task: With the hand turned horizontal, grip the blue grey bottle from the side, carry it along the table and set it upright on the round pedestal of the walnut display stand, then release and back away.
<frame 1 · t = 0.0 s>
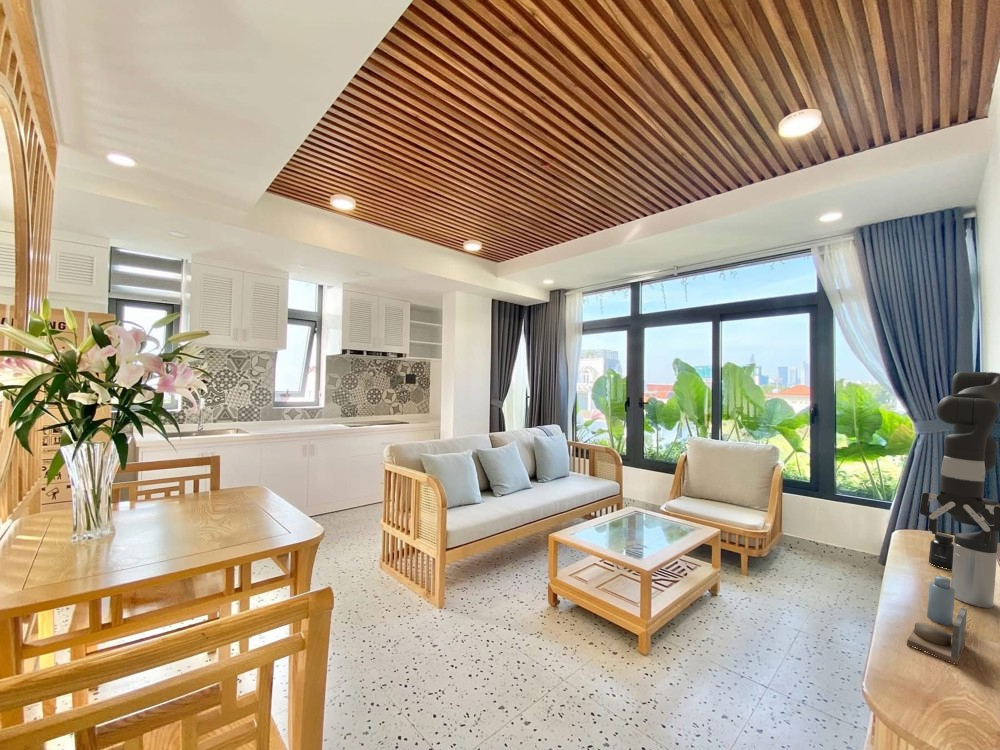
hand: (957, 539, 109), 29 cm above the table, tool pointing down, fingers open, 8 cm apart
display stand: (936, 645, 112), on the table
blue grey bottle: (939, 620, 124), on the table
supplement bottle: (941, 566, 162), on the table
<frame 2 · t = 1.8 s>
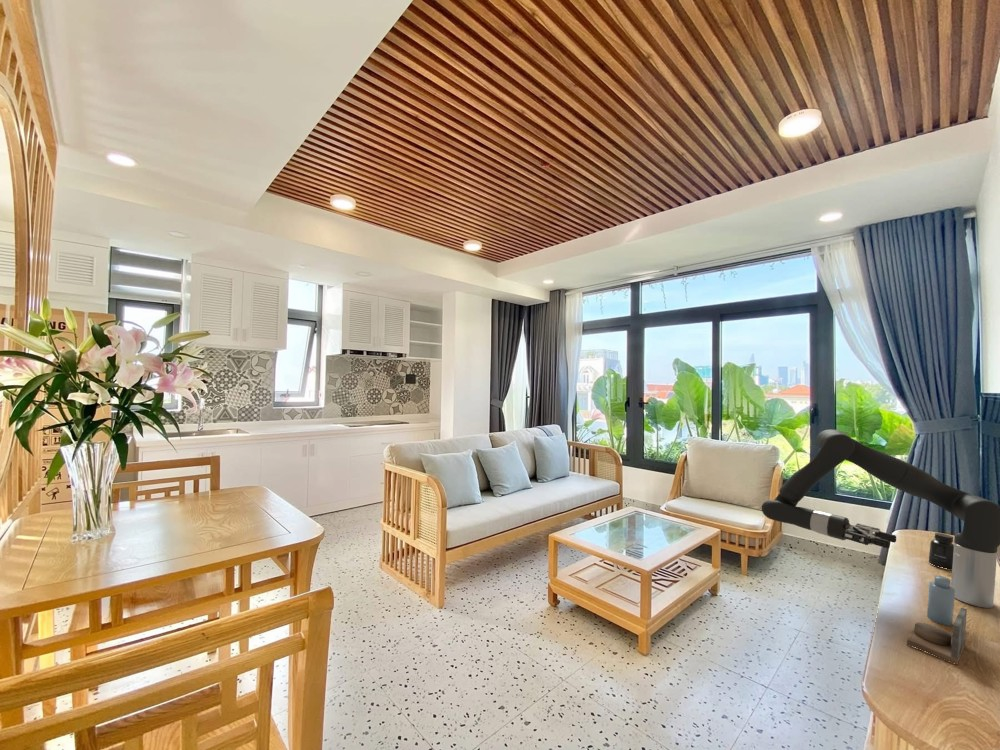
hand: (892, 542, 133), 19 cm above the table, tool horizontal, fingers open, 8 cm apart
nothing on the table moved.
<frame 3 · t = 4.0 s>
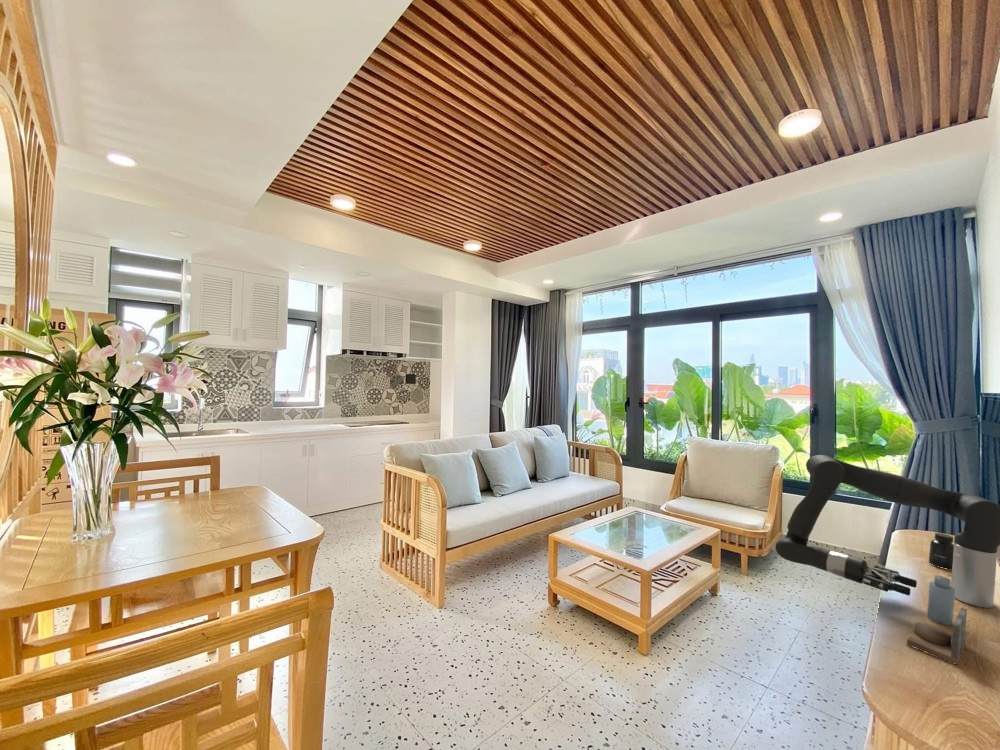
hand: (913, 588, 129), 7 cm above the table, tool horizontal, fingers open, 8 cm apart
nothing on the table moved.
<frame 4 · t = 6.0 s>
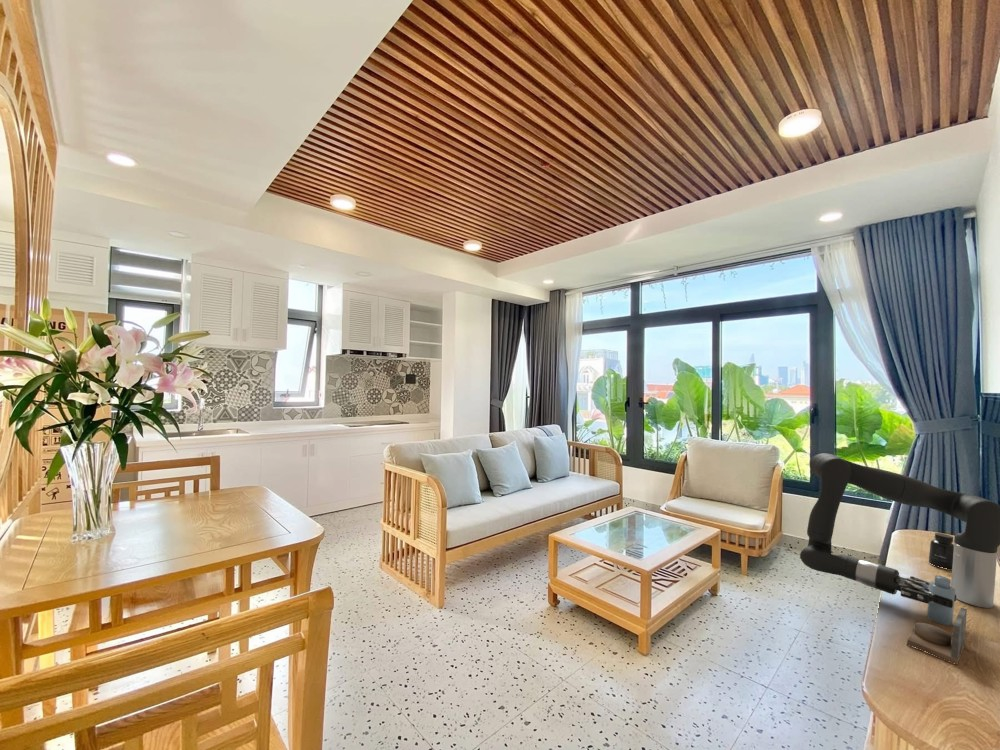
hand: (954, 601, 122), 7 cm above the table, tool horizontal, fingers closed on blue grey bottle, 5 cm apart
blue grey bottle: (939, 620, 124), on the table, touching gripper
everything else where it was.
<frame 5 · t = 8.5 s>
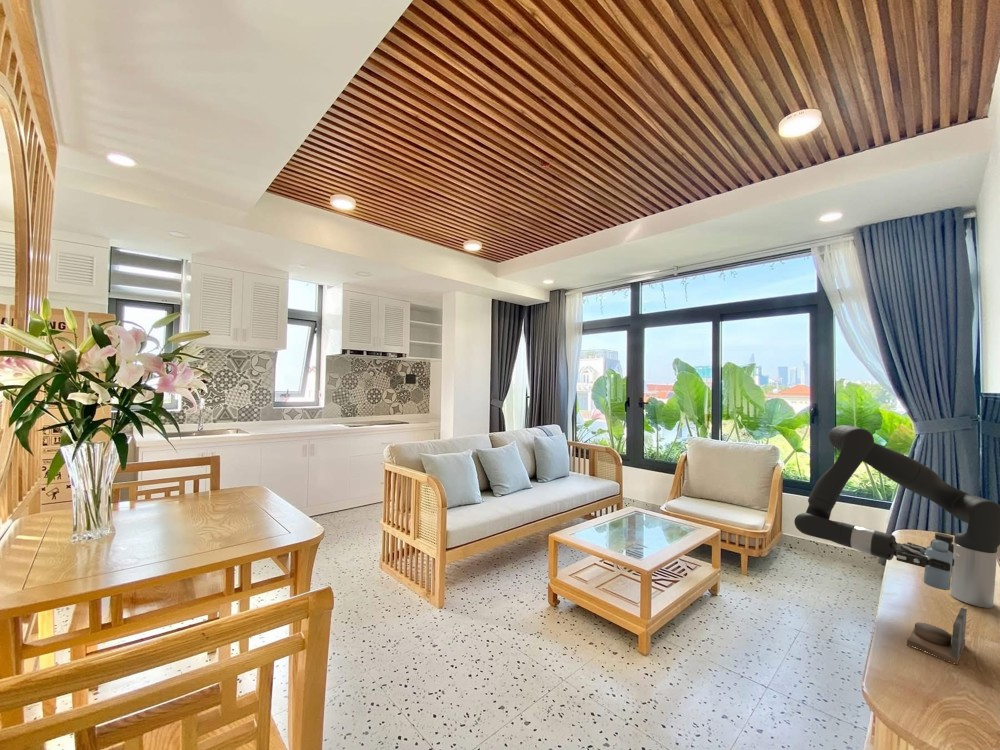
hand: (951, 565, 118), 19 cm above the table, tool horizontal, fingers closed on blue grey bottle, 5 cm apart
blue grey bottle: (936, 585, 120), point 12 cm above the table, touching gripper
everything else where it was.
when the fingers open (12 cm above the table, at t = 11.0 s): blue grey bottle drops 1 cm, resting on display stand.
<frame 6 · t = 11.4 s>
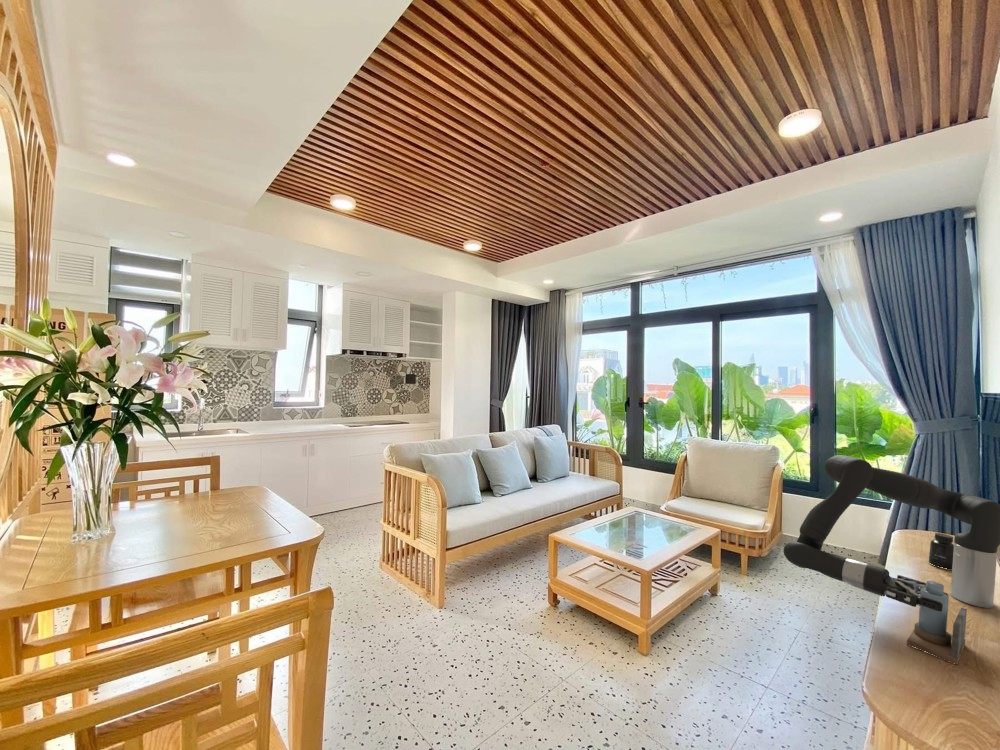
hand: (945, 602, 111), 12 cm above the table, tool horizontal, fingers open, 8 cm apart
blue grey bottle: (932, 630, 113), point 4 cm above the table, touching display stand
everything else where it was.
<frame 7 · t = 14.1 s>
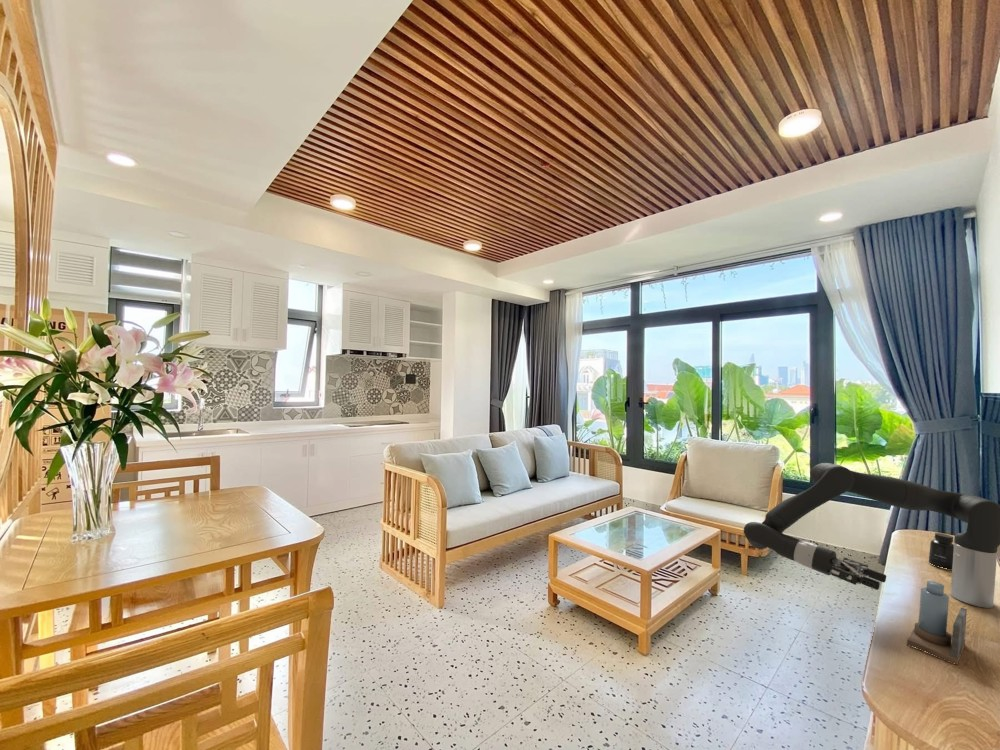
hand: (882, 582, 121), 12 cm above the table, tool horizontal, fingers open, 8 cm apart
nothing on the table moved.
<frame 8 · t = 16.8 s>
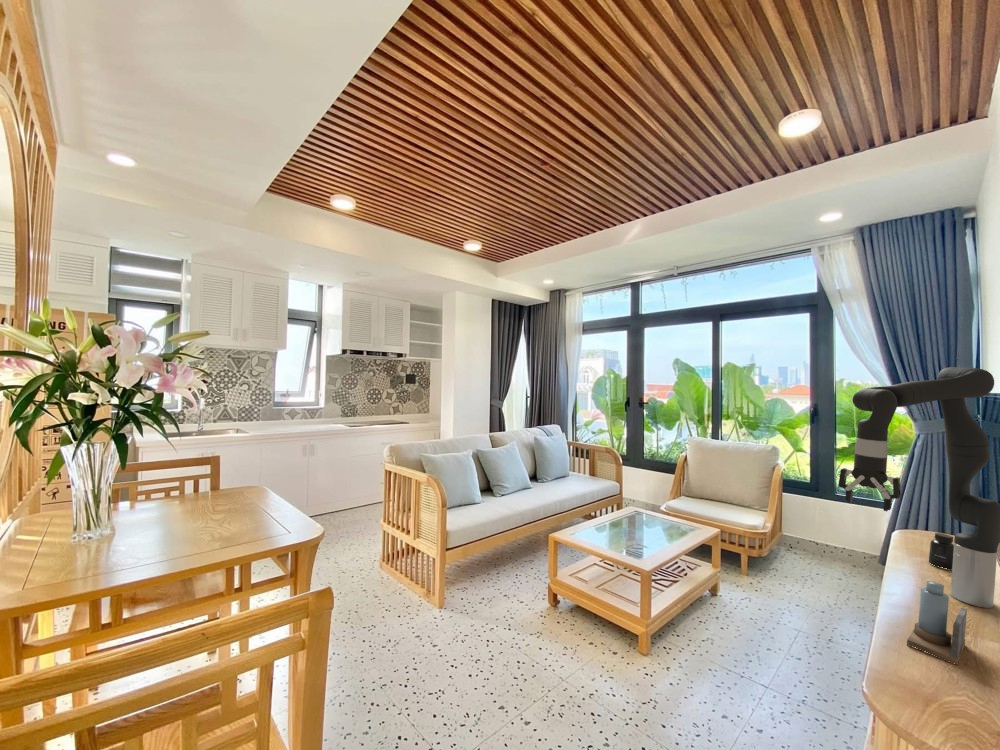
hand: (867, 506, 131), 30 cm above the table, tool pointing down, fingers open, 8 cm apart
nothing on the table moved.
at the end: blue grey bottle 0.1 cm off-centre on the display stand, point 3.5 cm above the display stand's base; blue grey bottle tilted 0°; the gripper is holding nothing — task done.
